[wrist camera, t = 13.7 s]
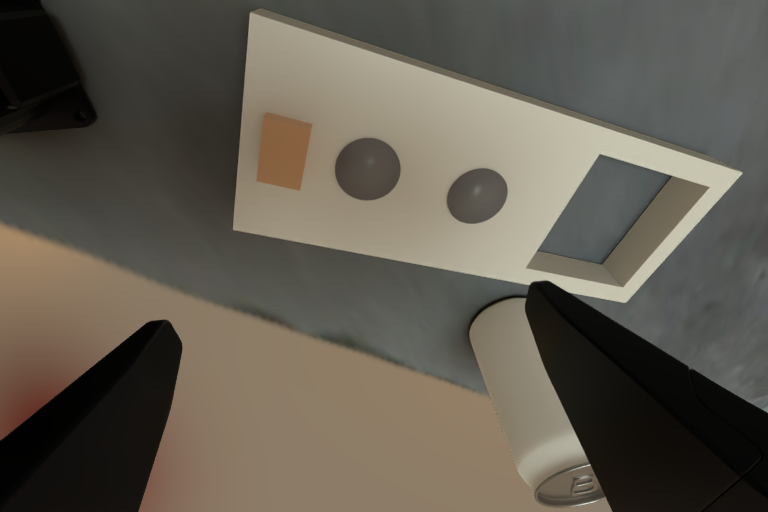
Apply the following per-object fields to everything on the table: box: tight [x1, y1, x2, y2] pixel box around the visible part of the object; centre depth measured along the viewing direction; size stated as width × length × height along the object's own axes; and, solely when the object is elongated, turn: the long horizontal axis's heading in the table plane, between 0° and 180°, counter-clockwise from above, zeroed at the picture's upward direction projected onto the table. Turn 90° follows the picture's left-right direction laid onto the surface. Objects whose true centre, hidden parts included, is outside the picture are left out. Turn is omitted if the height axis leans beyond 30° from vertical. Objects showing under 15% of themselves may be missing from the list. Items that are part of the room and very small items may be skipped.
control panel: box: [233, 8, 743, 303], centre depth 21 cm, size 26×10×3 cm, turn 73°
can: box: [469, 297, 606, 508], centre depth 25 cm, size 6×6×12 cm
